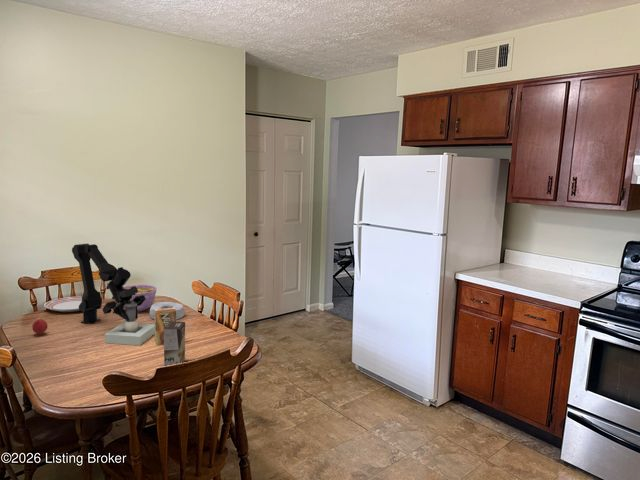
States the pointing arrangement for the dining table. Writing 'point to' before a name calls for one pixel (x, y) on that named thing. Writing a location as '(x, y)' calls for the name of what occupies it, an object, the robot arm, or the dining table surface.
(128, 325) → the pepper grinder
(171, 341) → the coffee box
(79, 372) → the dining table surface
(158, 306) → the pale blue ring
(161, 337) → the candy box
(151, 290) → the bowl of food
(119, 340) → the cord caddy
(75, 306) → the dinner plate
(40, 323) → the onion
